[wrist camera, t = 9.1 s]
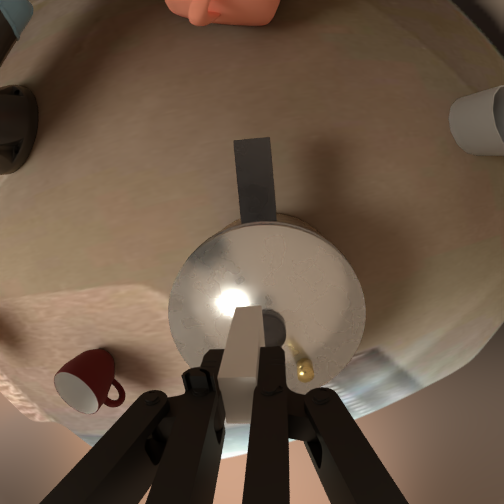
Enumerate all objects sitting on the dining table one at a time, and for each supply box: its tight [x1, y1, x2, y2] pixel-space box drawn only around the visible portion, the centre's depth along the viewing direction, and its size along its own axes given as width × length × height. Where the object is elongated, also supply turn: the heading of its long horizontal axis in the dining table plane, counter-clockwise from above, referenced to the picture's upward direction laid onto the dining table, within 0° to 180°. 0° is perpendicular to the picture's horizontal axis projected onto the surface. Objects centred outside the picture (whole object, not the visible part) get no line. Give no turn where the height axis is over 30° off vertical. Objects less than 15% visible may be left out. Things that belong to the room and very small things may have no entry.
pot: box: [183, 137, 354, 271], centre depth 34 cm, size 28×19×10 cm
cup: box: [449, 85, 504, 156], centre depth 27 cm, size 8×8×10 cm
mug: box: [54, 349, 125, 414], centre depth 41 cm, size 10×8×10 cm
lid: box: [168, 223, 366, 394], centre depth 28 cm, size 20×19×3 cm
